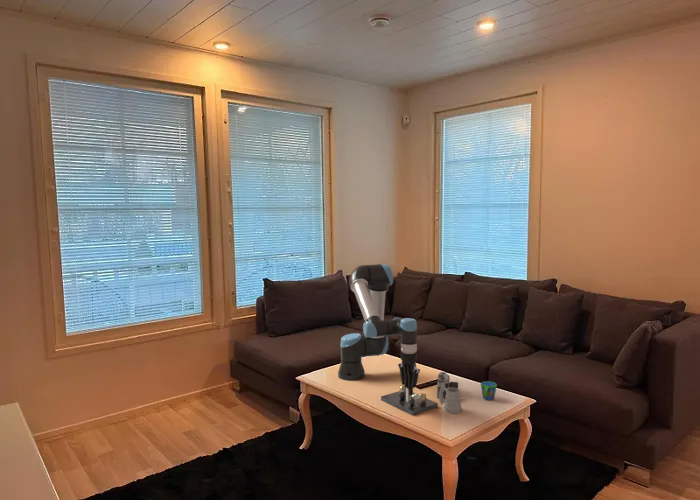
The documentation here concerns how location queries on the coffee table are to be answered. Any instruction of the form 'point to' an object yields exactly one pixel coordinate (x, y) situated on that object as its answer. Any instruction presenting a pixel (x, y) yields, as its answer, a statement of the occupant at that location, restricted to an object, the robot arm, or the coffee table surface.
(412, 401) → the knob right
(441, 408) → the coffee table surface
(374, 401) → the coffee table surface
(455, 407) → the mug
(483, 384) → the snack cup
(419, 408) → the control panel
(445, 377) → the camera
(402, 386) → the knob left
